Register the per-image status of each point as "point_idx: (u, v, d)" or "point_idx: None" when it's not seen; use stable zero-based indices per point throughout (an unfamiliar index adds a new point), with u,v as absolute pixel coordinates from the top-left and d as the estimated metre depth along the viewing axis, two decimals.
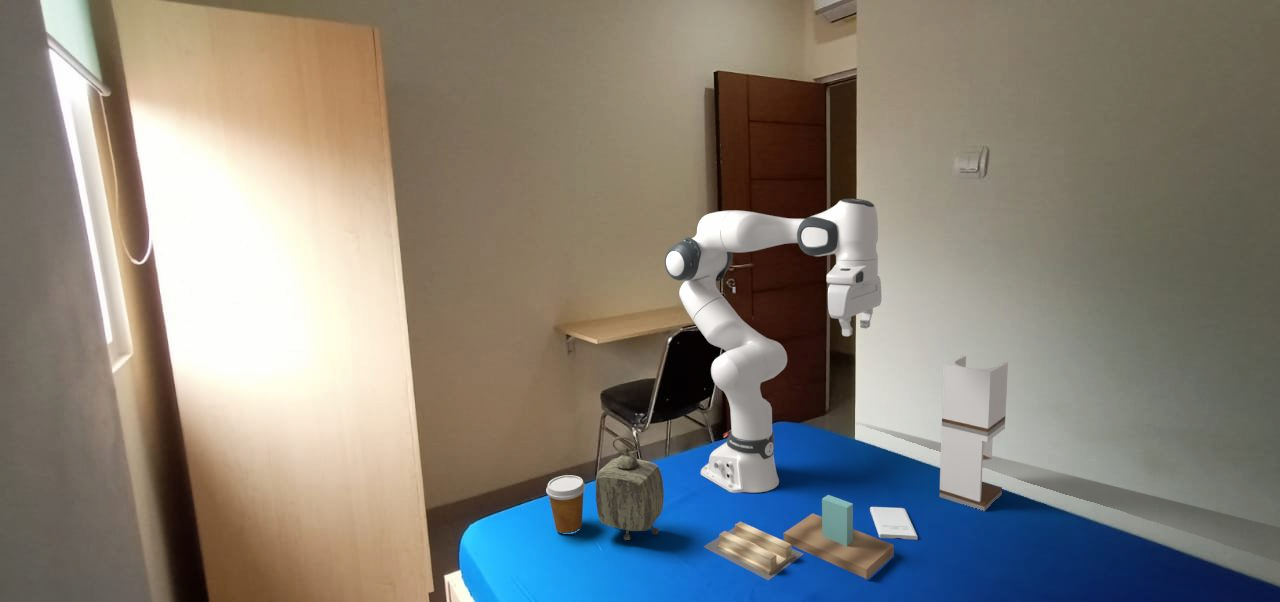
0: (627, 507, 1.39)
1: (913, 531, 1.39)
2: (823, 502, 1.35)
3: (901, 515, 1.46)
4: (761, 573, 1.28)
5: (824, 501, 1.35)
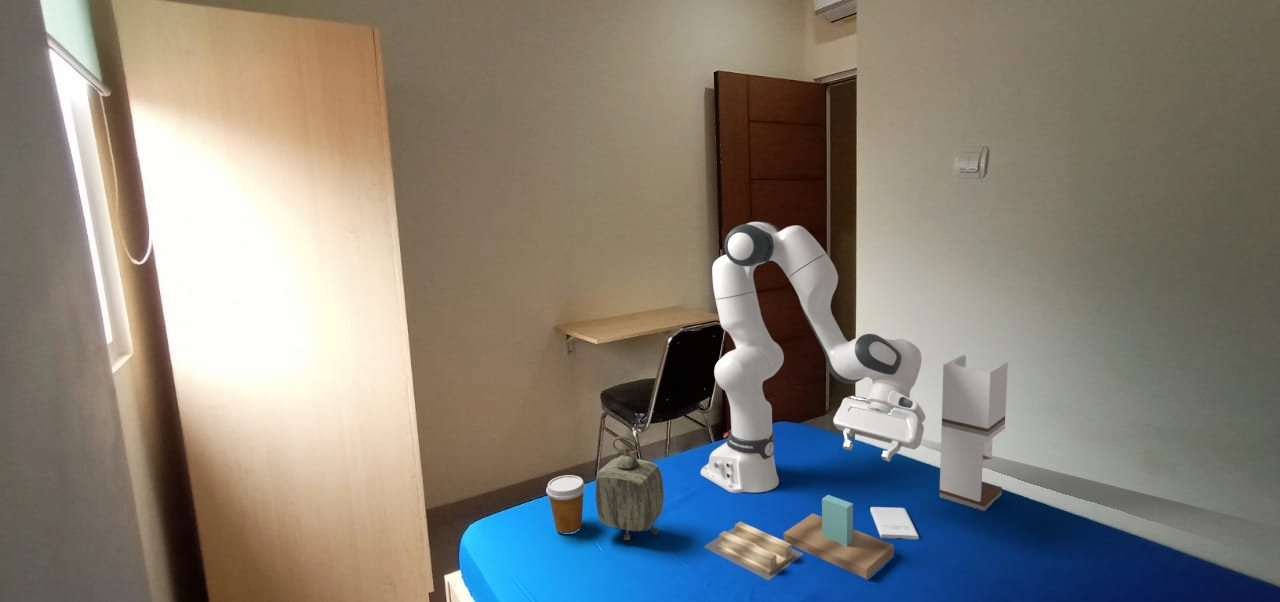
0: (627, 507, 1.39)
1: (914, 531, 1.40)
2: (823, 502, 1.35)
3: (902, 515, 1.46)
4: (761, 573, 1.28)
5: (824, 501, 1.35)
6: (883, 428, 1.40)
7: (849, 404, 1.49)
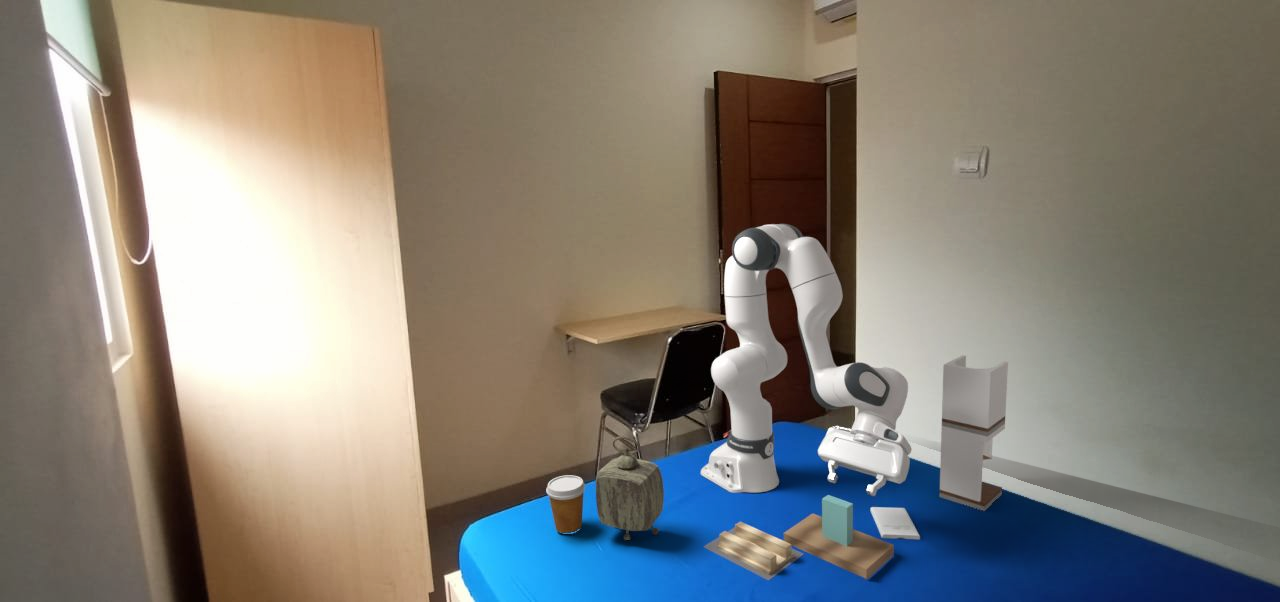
0: (627, 507, 1.39)
1: (915, 531, 1.40)
2: (823, 502, 1.35)
3: (902, 515, 1.46)
4: (761, 573, 1.28)
5: (824, 501, 1.35)
6: (868, 460, 1.36)
7: (833, 434, 1.45)
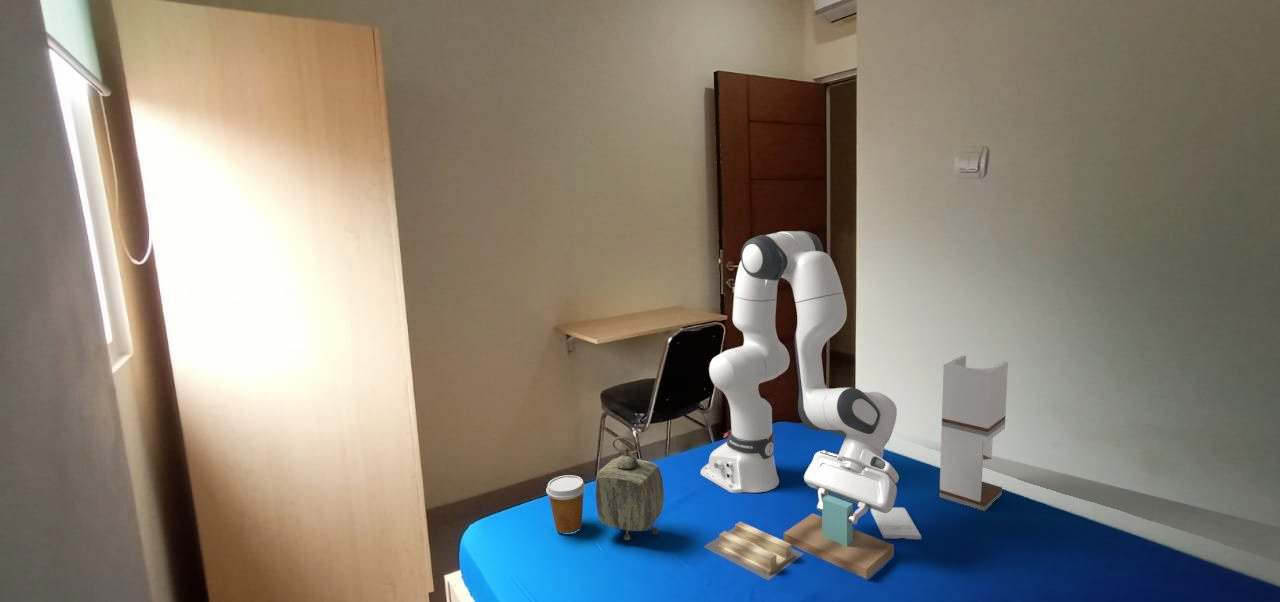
0: (627, 507, 1.39)
1: (916, 530, 1.40)
2: (823, 502, 1.35)
3: (903, 515, 1.46)
4: (761, 573, 1.28)
5: (824, 501, 1.35)
6: (854, 489, 1.33)
7: (820, 460, 1.42)
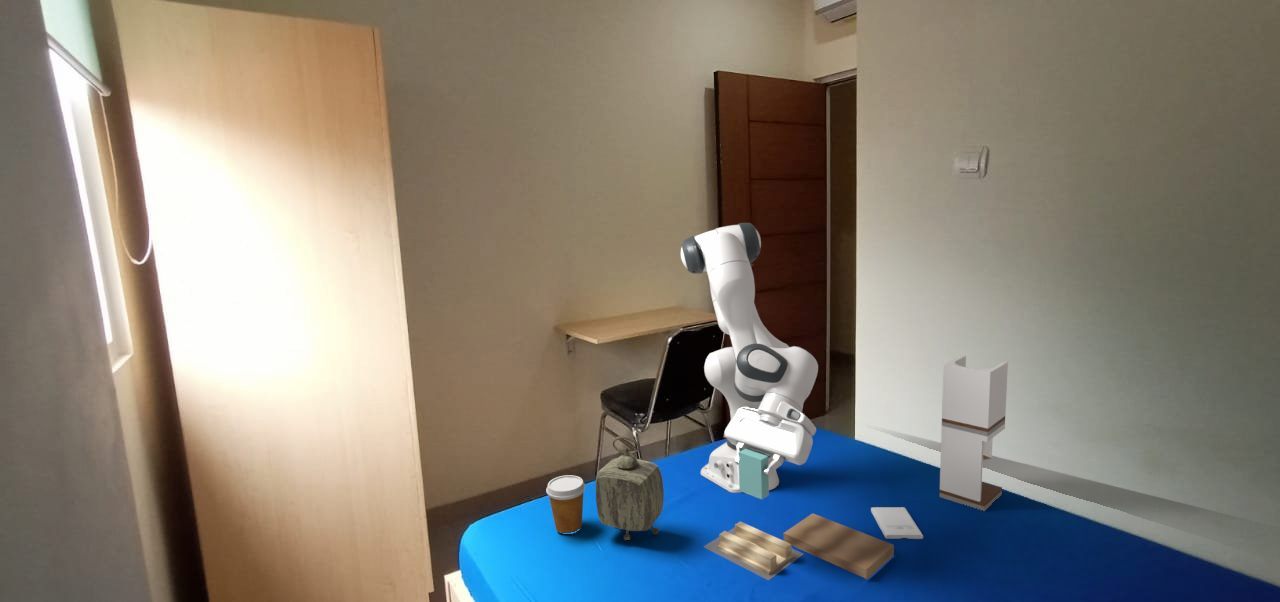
0: (627, 507, 1.39)
1: (918, 530, 1.40)
2: (739, 455, 1.33)
3: (903, 514, 1.47)
4: (761, 573, 1.28)
5: (740, 455, 1.32)
6: (770, 441, 1.31)
7: (741, 415, 1.40)
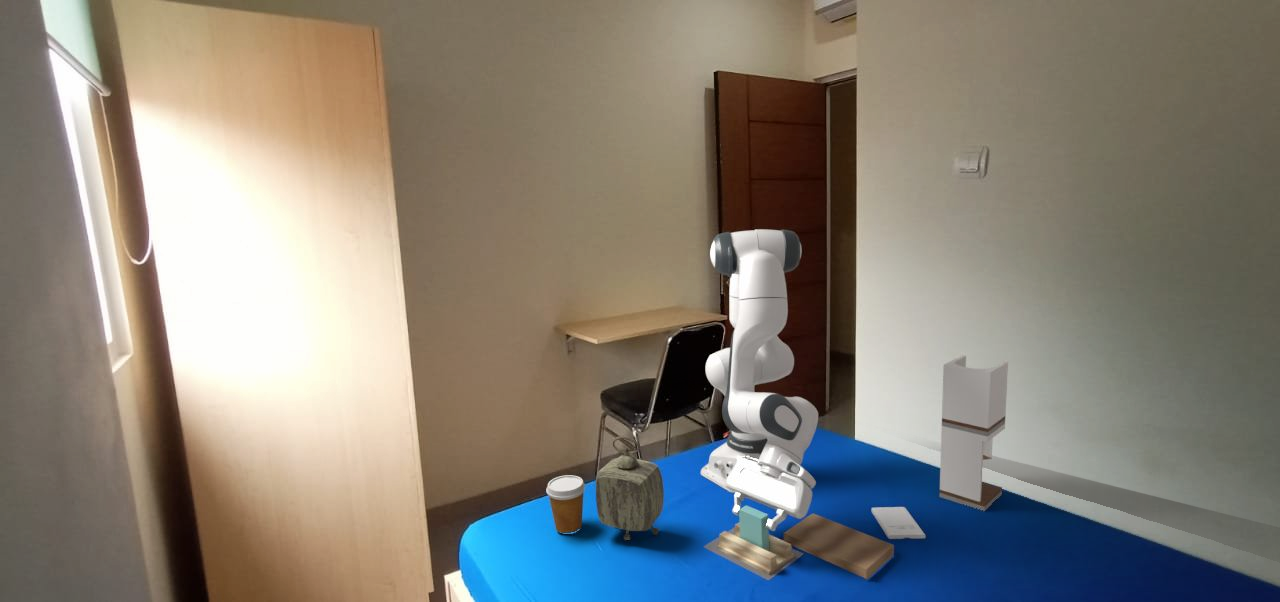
0: (627, 507, 1.39)
1: (920, 530, 1.40)
2: (740, 513, 1.35)
3: (904, 514, 1.47)
4: (761, 573, 1.28)
5: (741, 512, 1.35)
6: (770, 494, 1.33)
7: (741, 465, 1.42)
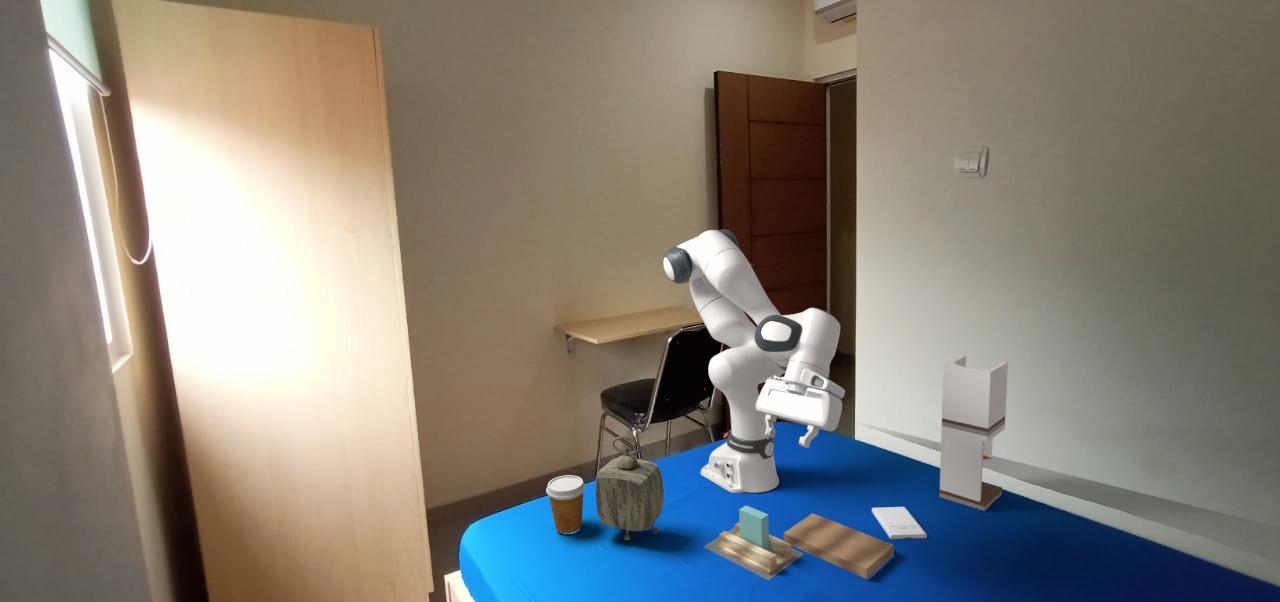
0: (627, 507, 1.39)
1: (921, 529, 1.40)
2: (740, 513, 1.35)
3: (904, 514, 1.47)
4: (761, 573, 1.28)
5: (741, 512, 1.35)
6: (799, 411, 1.28)
7: (769, 386, 1.37)
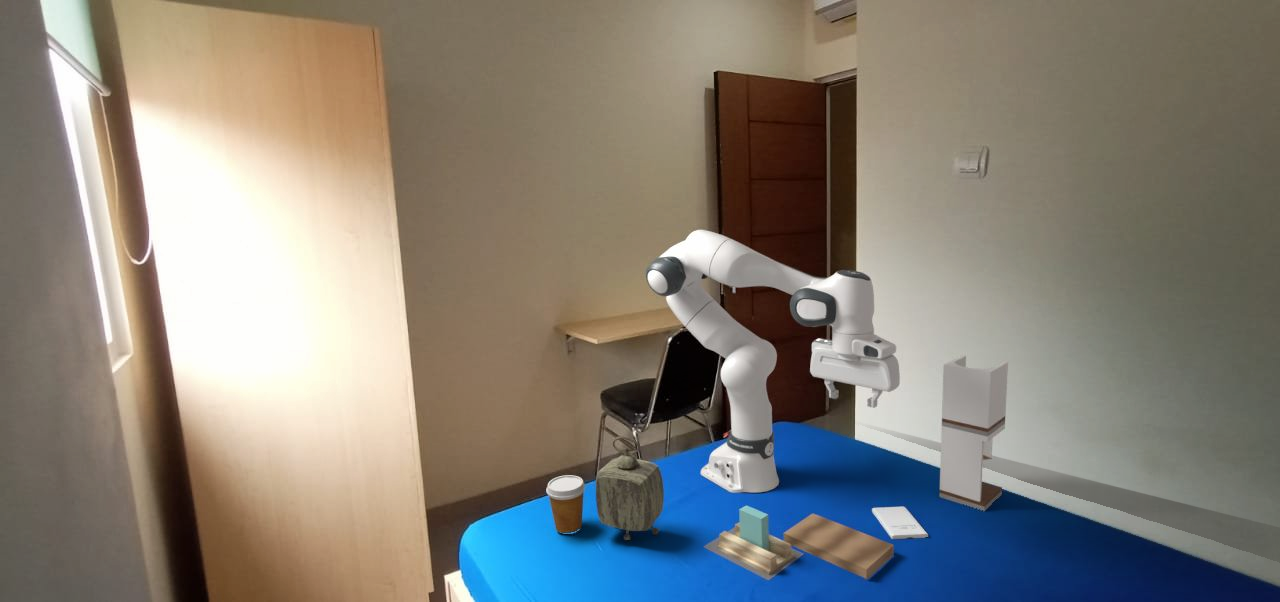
0: (627, 507, 1.39)
1: (922, 529, 1.40)
2: (740, 513, 1.35)
3: (905, 514, 1.47)
4: (761, 573, 1.28)
5: (741, 512, 1.35)
6: (859, 377, 1.34)
7: (818, 353, 1.41)
